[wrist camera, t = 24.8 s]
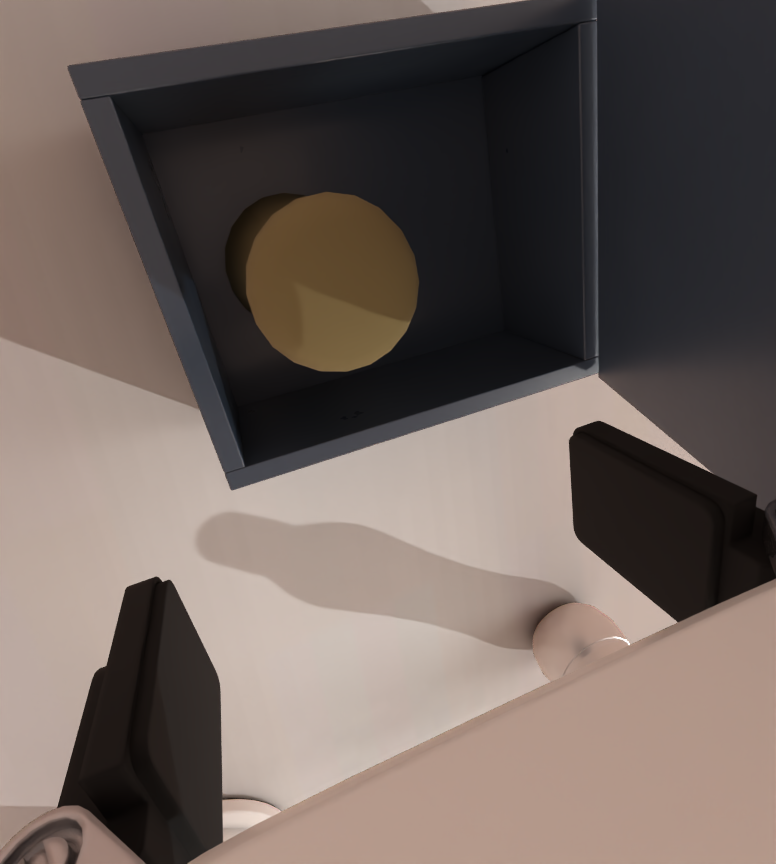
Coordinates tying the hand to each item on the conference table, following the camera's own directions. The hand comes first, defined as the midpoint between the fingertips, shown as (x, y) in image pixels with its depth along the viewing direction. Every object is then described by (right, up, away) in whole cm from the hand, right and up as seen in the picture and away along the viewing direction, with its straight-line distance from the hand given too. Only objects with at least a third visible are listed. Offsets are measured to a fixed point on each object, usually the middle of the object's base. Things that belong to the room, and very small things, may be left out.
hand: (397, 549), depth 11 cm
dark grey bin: (-2, +12, +14) cm, 18 cm away
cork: (-5, +11, +12) cm, 17 cm away
